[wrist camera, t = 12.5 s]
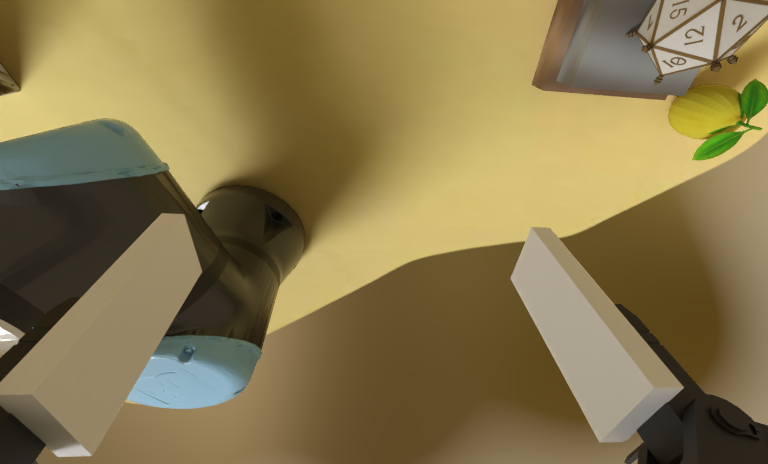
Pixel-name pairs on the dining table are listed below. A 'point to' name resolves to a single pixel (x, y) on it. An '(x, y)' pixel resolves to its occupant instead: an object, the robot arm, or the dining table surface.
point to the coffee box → (7, 83)
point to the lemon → (716, 115)
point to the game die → (697, 32)
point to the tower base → (603, 52)
